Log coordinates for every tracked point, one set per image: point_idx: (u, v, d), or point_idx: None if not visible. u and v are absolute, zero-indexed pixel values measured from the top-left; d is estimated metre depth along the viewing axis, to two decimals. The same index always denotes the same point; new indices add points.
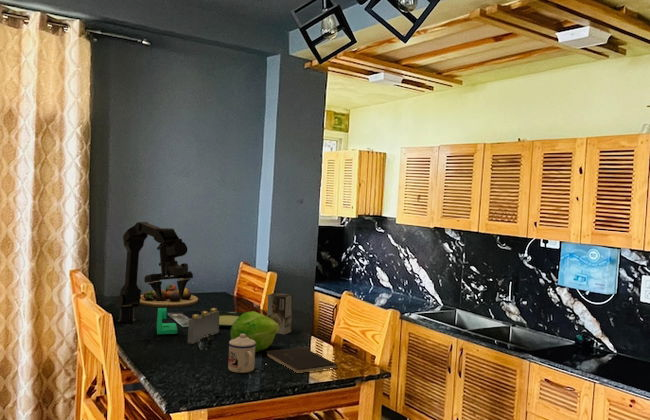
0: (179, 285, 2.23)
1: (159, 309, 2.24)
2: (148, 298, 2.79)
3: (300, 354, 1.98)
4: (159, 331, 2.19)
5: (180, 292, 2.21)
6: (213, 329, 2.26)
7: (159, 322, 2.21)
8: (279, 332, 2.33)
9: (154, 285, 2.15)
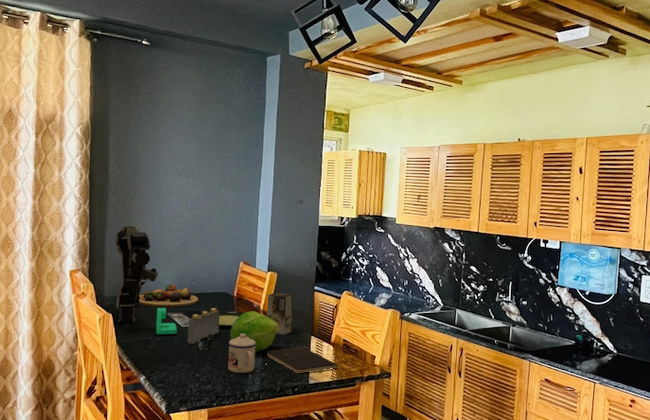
0: None
1: (158, 309, 2.24)
2: (148, 298, 2.79)
3: (300, 354, 1.98)
4: (158, 331, 2.19)
5: None
6: (213, 329, 2.26)
7: (158, 322, 2.21)
8: (279, 332, 2.33)
9: (130, 287, 2.24)
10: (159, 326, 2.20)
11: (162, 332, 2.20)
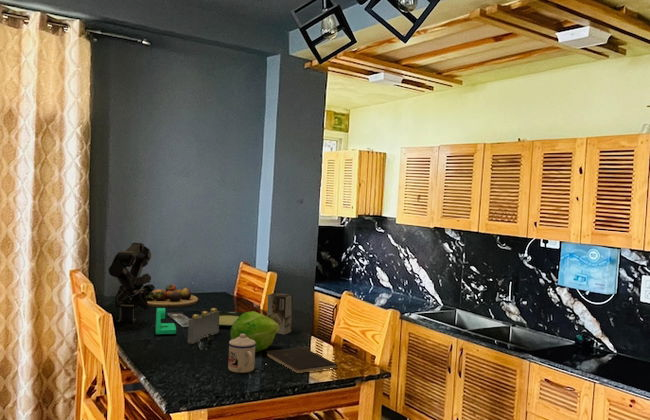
0: None
1: (158, 309, 2.24)
2: (148, 298, 2.79)
3: (300, 354, 1.98)
4: (158, 331, 2.19)
5: None
6: (213, 329, 2.26)
7: (158, 322, 2.21)
8: (279, 332, 2.33)
9: (135, 300, 2.29)
10: (158, 326, 2.20)
11: (161, 332, 2.20)
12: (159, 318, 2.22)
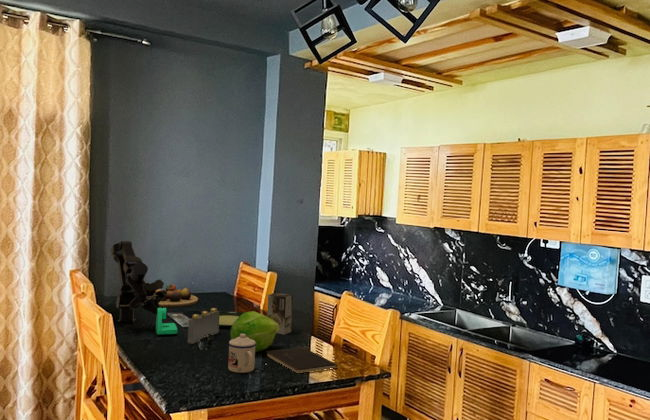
0: None
1: (159, 309, 2.23)
2: None
3: (300, 354, 1.98)
4: (159, 331, 2.19)
5: None
6: (213, 329, 2.26)
7: (159, 322, 2.20)
8: (279, 332, 2.33)
9: (148, 306, 2.27)
10: (160, 326, 2.19)
11: (163, 332, 2.19)
12: (160, 318, 2.21)
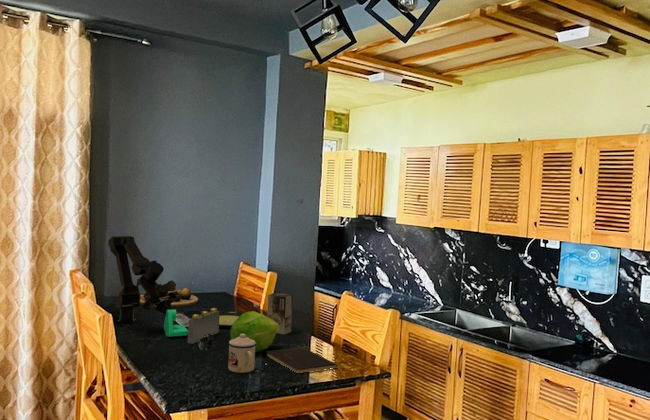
0: None
1: (169, 311, 2.21)
2: None
3: (299, 354, 1.98)
4: (170, 333, 2.16)
5: None
6: (213, 329, 2.26)
7: (170, 324, 2.18)
8: (279, 332, 2.33)
9: (160, 307, 2.25)
10: (171, 328, 2.17)
11: (174, 334, 2.17)
12: (171, 320, 2.19)
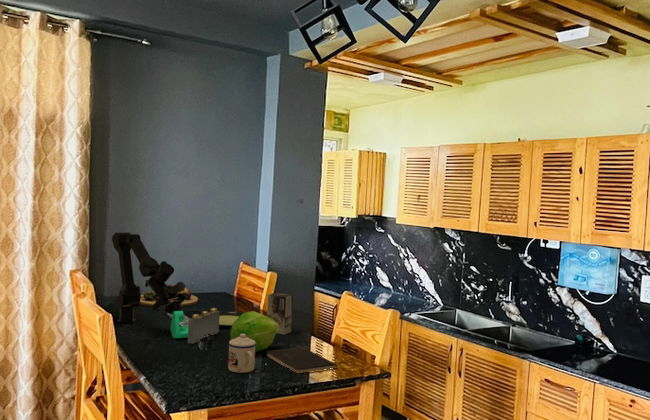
0: None
1: (175, 312, 2.19)
2: (148, 298, 2.79)
3: (299, 354, 1.98)
4: (178, 335, 2.15)
5: None
6: (213, 329, 2.26)
7: (177, 326, 2.16)
8: (279, 332, 2.33)
9: (170, 309, 2.24)
10: (178, 330, 2.16)
11: (181, 336, 2.15)
12: (178, 321, 2.17)
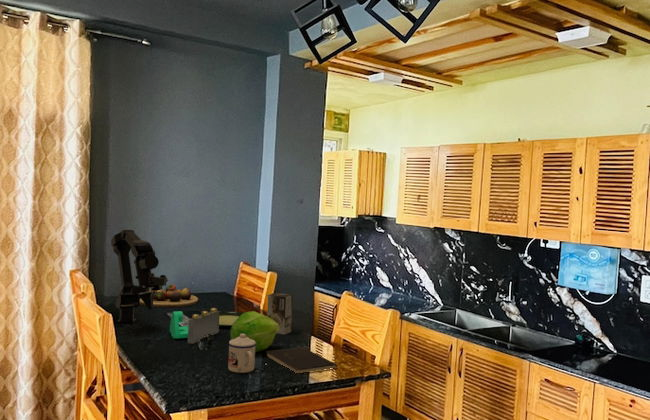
0: None
1: (175, 313, 2.19)
2: None
3: (299, 354, 1.98)
4: (177, 335, 2.15)
5: None
6: (213, 329, 2.26)
7: (176, 326, 2.16)
8: (279, 332, 2.33)
9: (144, 296, 2.25)
10: (177, 330, 2.15)
11: (181, 336, 2.15)
12: (177, 322, 2.17)
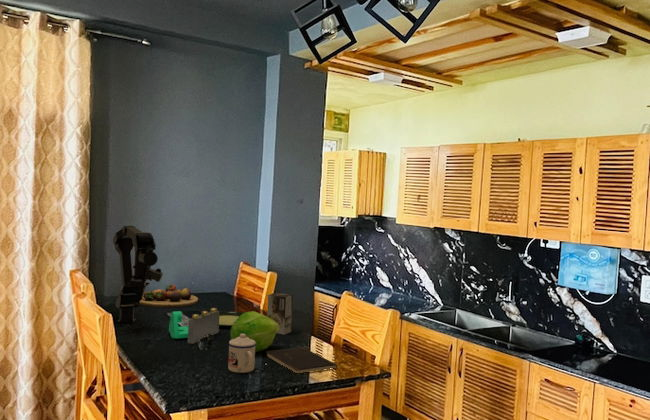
0: None
1: (174, 313, 2.19)
2: (148, 298, 2.79)
3: (299, 354, 1.98)
4: (176, 335, 2.14)
5: None
6: (213, 329, 2.26)
7: (175, 326, 2.16)
8: (279, 332, 2.33)
9: (137, 287, 2.26)
10: (177, 330, 2.15)
11: (180, 336, 2.15)
12: (176, 322, 2.17)
